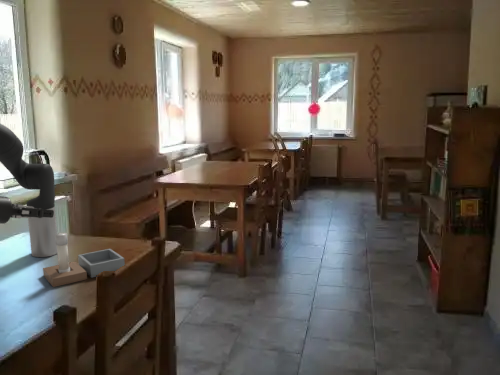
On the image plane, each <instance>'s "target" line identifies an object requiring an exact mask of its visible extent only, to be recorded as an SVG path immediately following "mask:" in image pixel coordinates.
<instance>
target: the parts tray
mask: <svg viewBox="0 0 500 375" xmlns="http://www.w3.org/2000/svg"><path fill="white" fill-rule="evenodd" d="M77 257H78V258H77V260H78V264H79V265H80V266H81V267H82V268H83V269H84V270H85V271H86V272H87V276H89V277H90V278H96V277H97V276H96V275H98V274H99V273H101V272H103V271H116V270H117V269H119V268H120V267H122V266H124V265H125V264H126V263H125V261H126V260H125V257H123V256H122V255H121V254H119V253H118V252H116V251H114V250H113V249H112V248H106V249H102V250H101V249H100V250H96V251H92V252H87V253H83V254H82V253H81V254H78V255H77ZM125 266H126V265H125Z"/></svg>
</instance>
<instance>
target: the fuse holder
mask: <svg viewBox="0 0 500 375" xmlns="http://www.w3.org/2000/svg"><path fill="white" fill-rule="evenodd" d="M69 267H70V271H68V272H63V273H59V270H58V269H59V264H57V265H50V266H46V267H43V268H42V274H43V277H44V278H45V279H46V280H47V282H48V283H49V284H50V285H51V286H52V287H53V288H55V287H60V286H63V285H68V284H73V283H76V282H81V281H86V280H88V274H87V272H86V271H85V270H84V269H83V268H82V267H81V266H80V265H79V263H78V262H76V261H71V262H69Z"/></svg>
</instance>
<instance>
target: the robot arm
mask: <svg viewBox="0 0 500 375" xmlns="http://www.w3.org/2000/svg"><path fill="white" fill-rule="evenodd" d="M23 154H24V145H23V143H22V141H21V139H20V138H19V137H18V136H17V135H16V134H15V132H13V131H12V129H10V128H9V127H7V126H5V125H4V124H2V123H0V164H2V165H3V167H4V168H6V170H8V172H9V173H10V174H11V175H12V177H13V178H14V179H15V180H16V182H17V183H18V185H20V186H21V187H22V188H24V189H25V190H35V191H36V190H39V194H38V196H36V197H33V198H31V199H29V200H27V201H26V204H25V205H23V204H18V203H12V200H11V199H10V198H9V197H8V196H0V224H2V225H3V224H4V225H5V224H7V223H8V221H10V219H11V218H13V219H27V223H28V231H29V232H28V233H29V243H30V251H31V256H32V257H34V258H46V257H51V256H55V255H58V252H57V245H56V238H55V235H56V234H58V226H57V217H56V214H57V213H56V207H55V200H56V193H55V186H56V185H55V174H54V168H53V167H52V166H51V164H49V163H28V162H26V161H25V160H24V159H23Z"/></svg>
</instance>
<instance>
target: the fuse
mask: <svg viewBox="0 0 500 375" xmlns="http://www.w3.org/2000/svg"><path fill="white" fill-rule="evenodd" d="M55 238H56V245H57V252H58V253H57V260H58V265H59V269H58V270H59V273H63V272H68V271H70V267H69V263H70V262H69V250H68V249H69V248H68V244H69V240H68V233H67V232H60V233H59V232H58V233H57V234H56V235H55Z"/></svg>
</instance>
